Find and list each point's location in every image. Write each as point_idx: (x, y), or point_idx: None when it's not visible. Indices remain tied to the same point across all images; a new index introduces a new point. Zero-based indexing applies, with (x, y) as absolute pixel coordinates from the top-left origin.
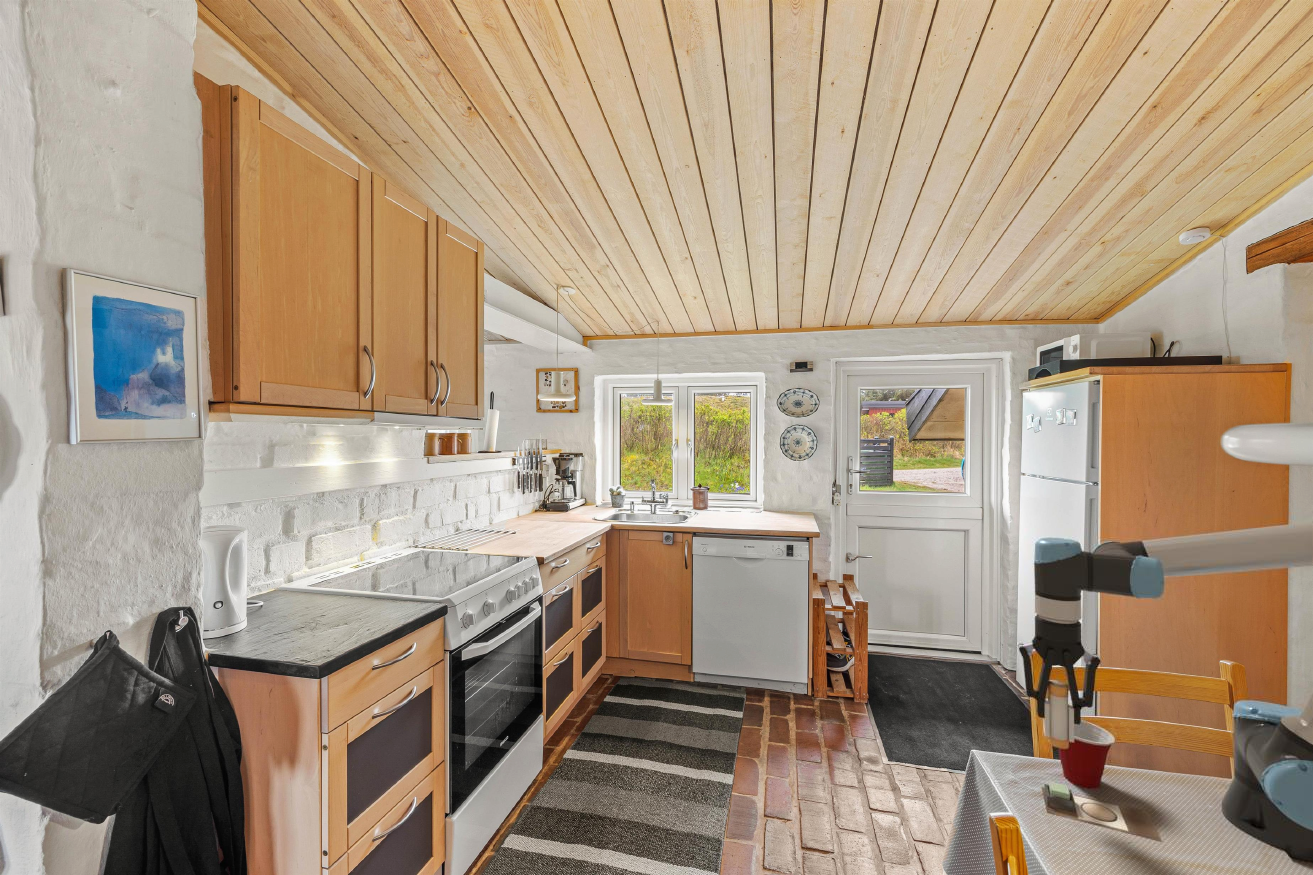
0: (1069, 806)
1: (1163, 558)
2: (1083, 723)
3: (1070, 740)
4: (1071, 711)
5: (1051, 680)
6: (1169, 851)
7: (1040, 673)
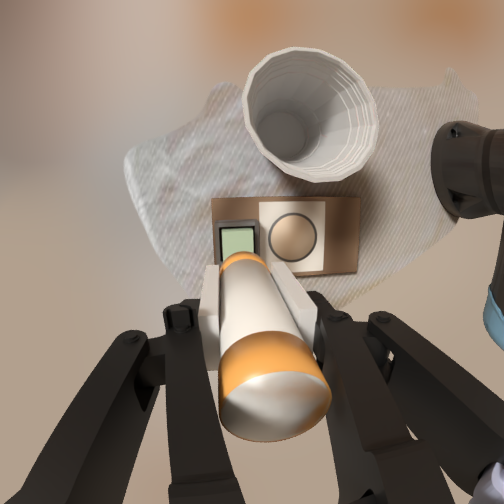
0: None
1: None
2: (321, 59)
3: None
4: None
5: (242, 387)
6: (357, 273)
7: (168, 420)
